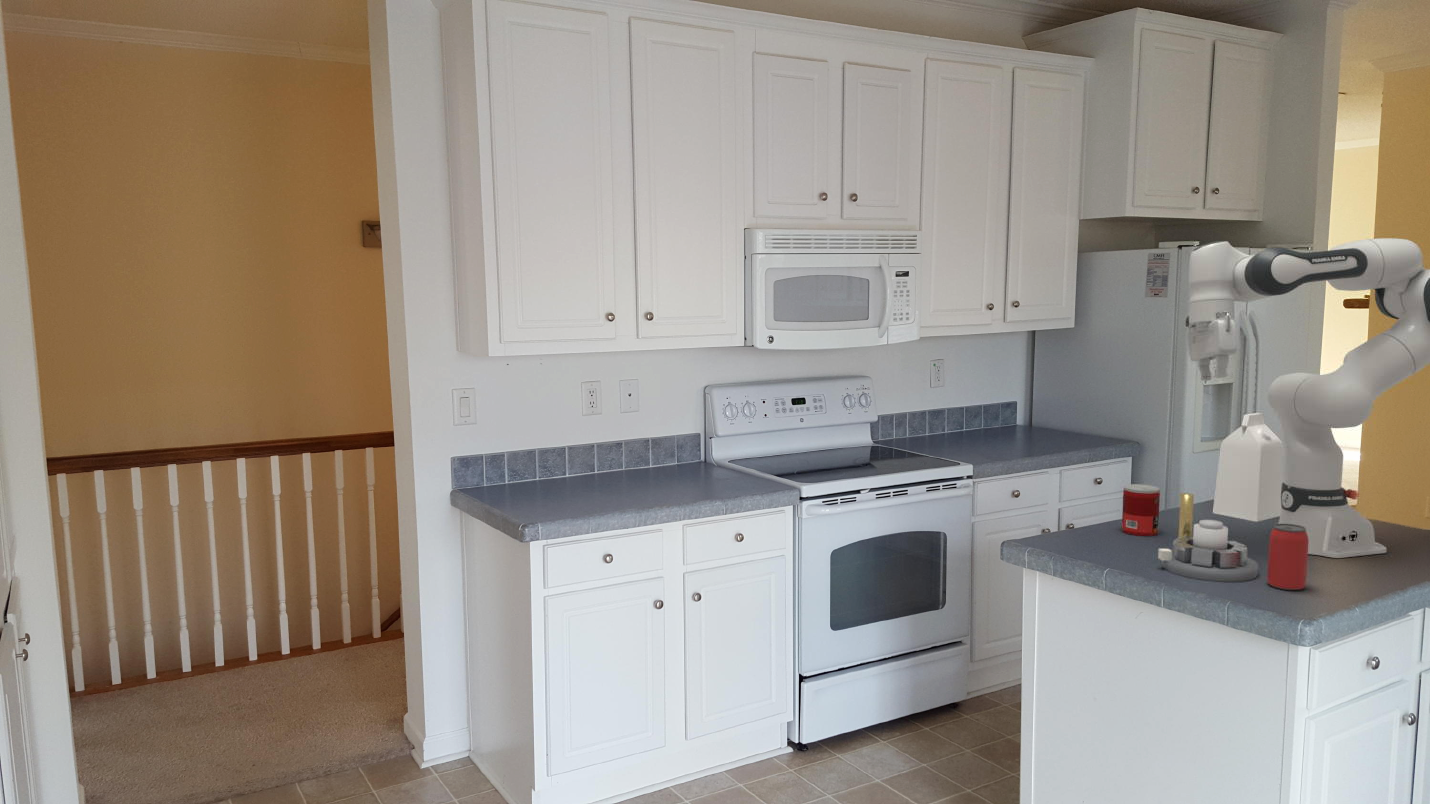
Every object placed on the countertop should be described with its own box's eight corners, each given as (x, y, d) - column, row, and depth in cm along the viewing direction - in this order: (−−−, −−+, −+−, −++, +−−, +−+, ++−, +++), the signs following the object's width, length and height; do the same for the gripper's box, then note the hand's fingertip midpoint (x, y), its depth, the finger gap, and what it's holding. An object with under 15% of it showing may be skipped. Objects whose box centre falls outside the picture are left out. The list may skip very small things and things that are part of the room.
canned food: (1161, 537, 236) (1163, 491, 234) (1125, 535, 237) (1127, 489, 236) (1153, 529, 243) (1155, 484, 242) (1118, 527, 245) (1120, 483, 243)
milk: (1238, 507, 266) (1244, 410, 263) (1282, 515, 256) (1289, 414, 253) (1212, 512, 259) (1218, 413, 256) (1256, 521, 250) (1262, 418, 247)
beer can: (1259, 581, 200) (1263, 523, 199) (1291, 580, 201) (1294, 522, 199) (1280, 591, 194) (1284, 531, 192) (1313, 590, 194) (1317, 530, 193)
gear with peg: (1259, 566, 203) (1263, 509, 202) (1197, 568, 202) (1200, 511, 200) (1210, 544, 220) (1212, 492, 218) (1152, 546, 218) (1154, 493, 217)
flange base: (1222, 555, 219) (1225, 511, 218) (1277, 579, 201) (1280, 531, 200) (1140, 558, 217) (1142, 513, 216) (1188, 583, 199) (1190, 534, 198)
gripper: (1244, 309, 208) (1246, 375, 207) (1211, 321, 228) (1213, 381, 228) (1212, 309, 209) (1214, 375, 208) (1182, 321, 229) (1183, 382, 229)
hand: (1213, 379), depth 218 cm, fingers open, 8 cm apart
